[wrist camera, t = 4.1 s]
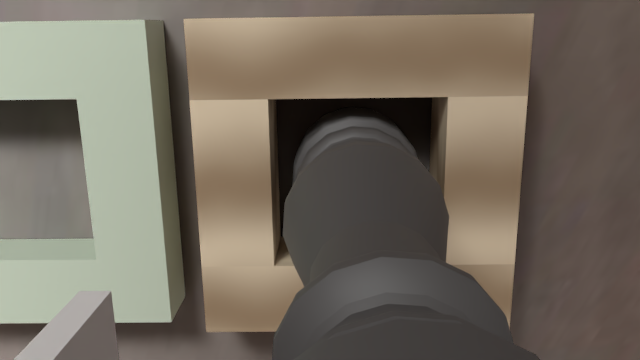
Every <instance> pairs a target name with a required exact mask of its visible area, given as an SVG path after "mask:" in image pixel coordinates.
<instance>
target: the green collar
mask: <svg viewBox="0 0 640 360" xmlns="http://www.w3.org/2000/svg"><path fill="white" fill-rule="evenodd" d="M51 99H77V106H78V115H79V123H80V131H81V139H82V147H83V155H84V164H85V172H86V180H87V188H88V196H89V204H90V213H91V221H92V229H93V237H94V239H0V323H49V322H50V321H51V320H52V319H53V318H54V317H55V316H56V315H57V314H58V313H59V312H60V311H61V310H62V309H63V308H64V307H65V306H66V305H67V303H68V302H69V301H70V300H71V299H72V298H73V297H74V296H75V295H76V294H77V293H78V292H79V291H111V293H112V302H113V311H114V320H115V323H145V322H172V321H173V319H174V317H175V315H176V313H177V311H178V309H179V307H180V305H181V304H182V302H183V300H184V298H185V283H184V271H183V259H182V246H181V234H180V222H179V209H178V197H177V185H176V172H175V160H174V148H173V135H172V123H171V111H170V98H169V86H168V74H167V61H166V49H165V37H164V24H163V21H160V20H100V21H34V22H0V100H51Z"/></svg>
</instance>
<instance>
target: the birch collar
mask: <svg viewBox="0 0 640 360" xmlns="http://www.w3.org/2000/svg"><path fill="white" fill-rule="evenodd" d="M533 23H534V14H468V15H402V16H336V17H270V18H204V19H184V31H185V45H186V58H187V72H188V86H189V100H190V114H191V128H192V141H193V155H194V169H195V183H196V197H197V211H198V224H199V238H200V252H201V266H202V280H203V294H204V307H205V321H206V332H276V331H277V329H278V327H279V325H280V323H281V321H282V319H283V318H284V316H285V314H286V312H287V310H288V308H289V306H290V304H291V303H292V301H293V299H294V297H295V295H296V293H297V292H299V291H300V290H301V289H302V288H304V285H303V283H302V281H301V279H300V277H299V275H298V273H297V271H296V269H295V267H294V264H293V262H292V259H291V256H290V254H289V251H288V248H287V246H286V243H285V240H284V237H281V230H280V200H279V171H278V141H277V111H276V99H330V98H409V97H432V113H431V141H430V169H429V173H430V174H431V175H432V176H433V177H434V178H435V180H436V181H437V182H438V183H439V185H440V186H441V190H442V193H443V197H444V200H445V203H446V207H447V210H448V214H449V226H448V237H447V253H446V263H448V264H450V265H452V266H454V267H456V268H458V269H461V270H463V271H465V272H467V273H469V274H471V275H472V276H473V277H474V278H475V280H476V281H477V282H478V283H479V284H480V285H481V287H482V288H483V289H484V290H485V291H486V292H487V293H488V295H489V296H490V297H491V298H492V299H493V300H494V302H495V303H496V304H497V305H498V306H499V307H500V309H501V310H502V311H503V312H504V314H505V316H506V318H507V322H508V325H509V329H510V318H511V305H512V292H513V279H514V267H515V254H516V241H517V228H518V215H519V202H520V190H521V177H522V164H523V151H524V138H525V125H526V113H527V100H528V87H529V74H530V61H531V48H532V36H533Z"/></svg>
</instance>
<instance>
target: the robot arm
mask: <svg viewBox="0 0 640 360" xmlns="http://www.w3.org/2000/svg"><path fill="white" fill-rule="evenodd" d="M13 360H119V355H118V346H117V337H116V328H115V320H114V311H113V302H112V293H111V291H79V292H78V293H77V294H76V295H75V296H74V297H73V298H72V299H71V300H70V301H69V302H68V303H67V305H66V306H65V307H64V308H63V309H62V310H61V311H60V312H59V313H58V314H57V315H56V316H55V317H54V318H53V319H52V320H51V321H50V322H49V323H48V324H47V325H46V326H45V327H44V328H43V329H42V330H41V331H40V333H39V334H38V335H37V336H36V337H35V338H34V339H33V340H32V341H31V342H30V343H29V344H28V345H27V346H26V347H25V348H24V349H23V350H22V351H21V352H20V353H19V354H18V355H17V356H16V357H15V358H14V359H13Z"/></svg>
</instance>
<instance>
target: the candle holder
mask: <svg viewBox="0 0 640 360" xmlns="http://www.w3.org/2000/svg"><path fill="white" fill-rule="evenodd" d="M448 226H449V214H448V210H447V207H446V203H445V200H444V197H443V193H442V190H441V186H440V185H439V183H438V182H437V181H436V180H435V178H434V177H433V176H432V175H431V174H430V173H429V171H428V170H427V169H426V168H425V167H424V165H423V164H422V163H421V162H420V161H419V159H418V158H417V154H416V151H415V148H414V147H413V146H412V144H411V143H410V142H409V140H408V139H407V137H406V136H405V135H404V134H403V133H402V131H401V130H400V129H399V128H398V127H397V125H396V124H395V123H394V122H393V121H392V119H390V118H388V117H386V116H384V115H382V114H380V113H378V112H376V111H374V110H372V109H368V108H354V107H346V108H343V109H340V110H337V111H334V112H330V113H327V114H325V115H324V116H322V117H321V118H320V119H319V120H318V121H317V122H315V123H314V124H313V125H312V126H311V127H310V128H308V129H307V131H306V133H305V135H304V137H303V139H302V141H301V143H300V145H299V147H298V149H297V153H296V157H295V161H294V168H293V184H292V188H291V190H290V192H289V194H288V196H287V198H286V200H285V204H284V221H283V237H284V240H285V243H286V246H287V248H288V251H289V254H290V256H291V259H292V262H293V264H294V267H295V269H296V271H297V273H298V275H299V277H300V279H301V281H302V283H303V285H304V288H302V289H301V290H300V291H299V292H297V293H296V295H295V297H294V299H293V301H292V303H291V304H290V306H289V308H288V310H287V312H286V314H285V316H284V318H283V319H282V321H281V323H280V325H279V327H278V329H277V331H276V332H275V335H274V340H273V354H272V360H540V359H539V358H538V357H537V356H536V355H535V354H533V353H531V352H529V351H527V350H525V349H523V348H521V347H518V346H516V345H514V343H513V340H512V336H511V332H510V329H509V325H508V322H507V318H506V316H505V314H504V312H503V311H502V310H501V309H500V307H499V306H498V305H497V304H496V303H495V302H494V300H493V299H492V298H491V297H490V296H489V295H488V293H487V292H486V291H485V290H484V289H483V288H482V287H481V285H480V284H479V283H478V282H477V281H476V280H475V278H474V277H473V276H472V275H471V274H469V273H467V272H465V271H463V270H461V269H458V268H456V267H454V266H452V265H450V264H448V263H446V253H447V237H448Z"/></svg>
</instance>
